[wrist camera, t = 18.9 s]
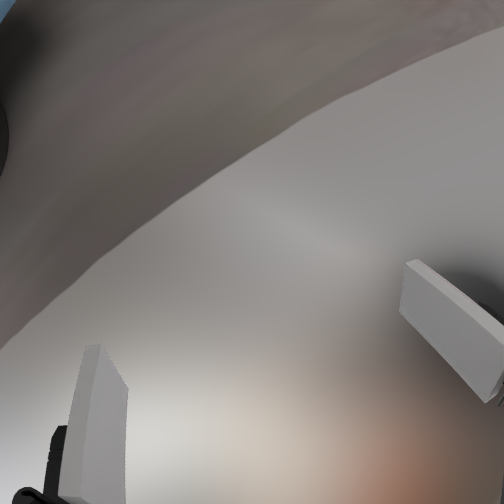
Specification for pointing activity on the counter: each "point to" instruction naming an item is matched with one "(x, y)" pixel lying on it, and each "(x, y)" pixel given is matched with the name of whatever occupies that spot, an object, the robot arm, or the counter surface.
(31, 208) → the counter surface
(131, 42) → the counter surface
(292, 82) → the counter surface
